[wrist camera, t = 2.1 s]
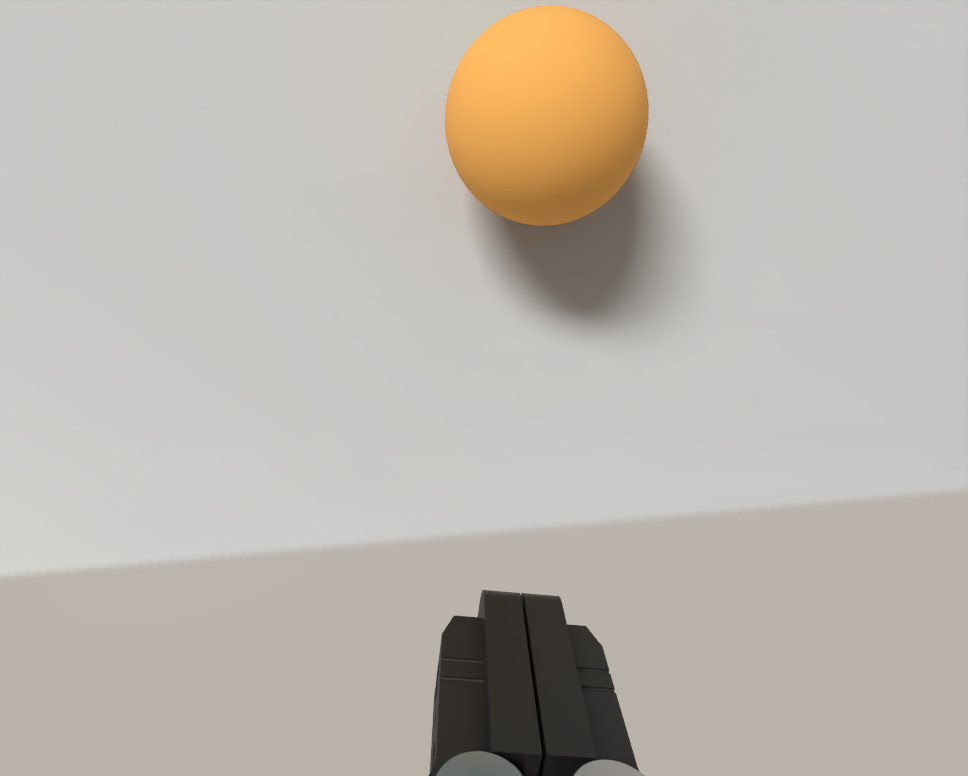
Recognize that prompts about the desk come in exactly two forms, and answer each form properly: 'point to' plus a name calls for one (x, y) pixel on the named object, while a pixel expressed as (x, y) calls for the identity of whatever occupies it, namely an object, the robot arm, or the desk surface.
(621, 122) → the ball
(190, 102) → the desk surface
